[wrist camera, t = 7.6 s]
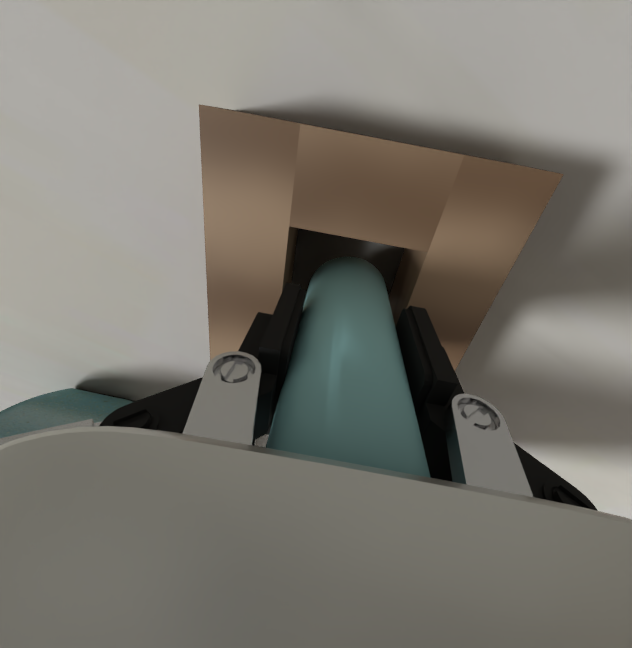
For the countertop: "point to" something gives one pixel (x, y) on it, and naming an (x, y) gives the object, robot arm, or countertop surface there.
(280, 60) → the countertop surface
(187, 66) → the countertop surface
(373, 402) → the peg
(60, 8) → the countertop surface
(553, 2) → the countertop surface
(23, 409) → the flower pot
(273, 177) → the socket
